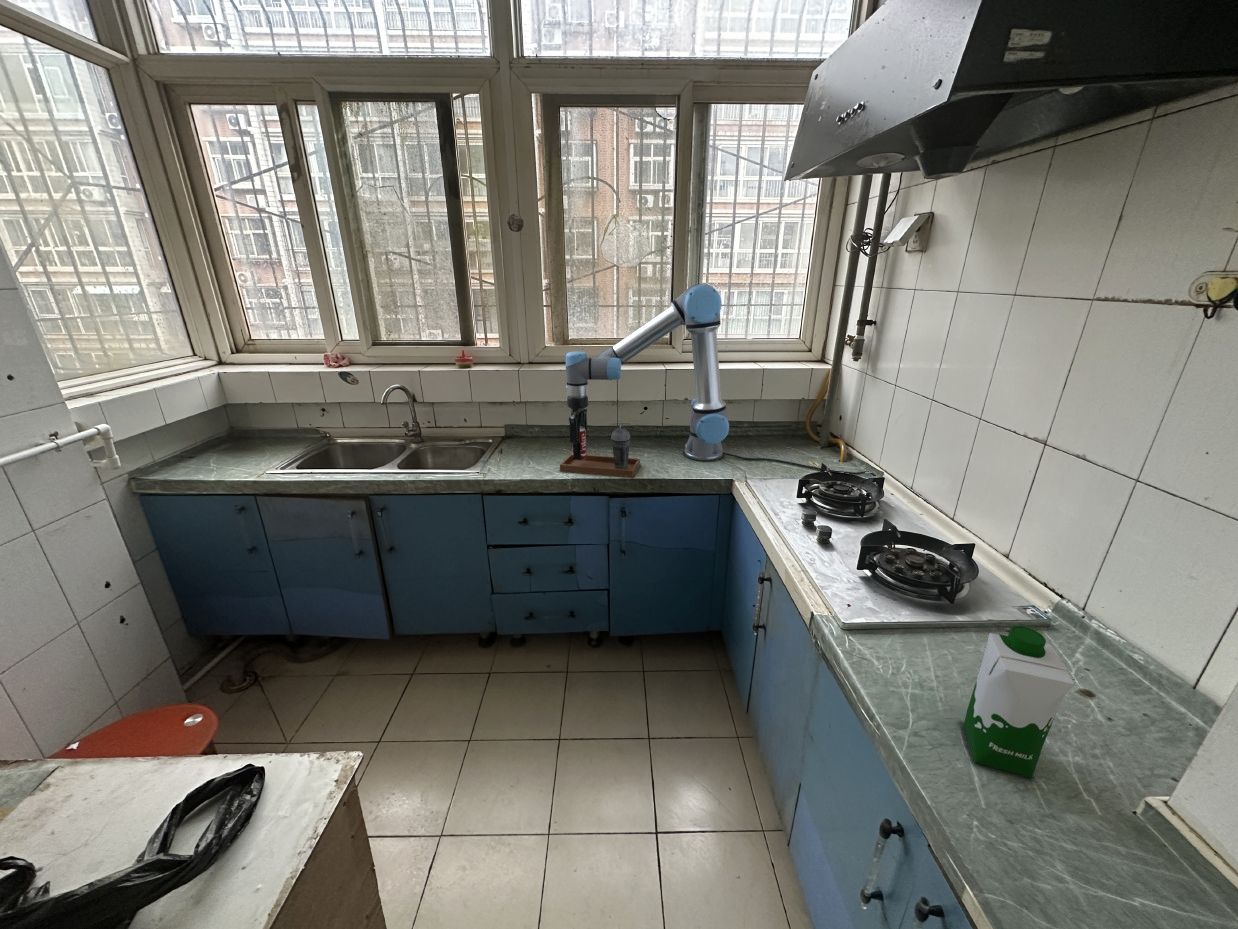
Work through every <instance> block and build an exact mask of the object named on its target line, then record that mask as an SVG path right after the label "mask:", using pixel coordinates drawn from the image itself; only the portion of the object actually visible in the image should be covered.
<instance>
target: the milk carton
mask: <svg viewBox="0 0 1238 929" xmlns="http://www.w3.org/2000/svg"><path fill="white" fill-rule="evenodd" d="M1046 642H1047V640H1046V638H1045V636H1044V635H1042V634H1041V633H1040V632H1039V631H1037V630H1035V629H1033V628H1030V627H1027V626H1022V625H1013V626H1012V627H1010V628H1009V632H1008V634H1007V635H1005V634H997V633H991V632H990V633H989V634H988V638H987V642H986V646H985V650H984V654H983V658H982V662H981V666H980V669H979V672H978V675H977V677H976V680H975V684H974V687H973V690H972V694H971V697H970V699H969V703H968V706H967V708H966V713H965V717H964V722H963V728H964V731H965V733H966V737H967V741H968V743H969V747H970V750H971V753H972V756H973V761H974V763H975V764H978V765H982V766H985V767H989V768H993V769H996V770H1001V771H1004V772H1007V773H1012V774H1015V775H1019V776H1023V777H1026V778H1030V779H1033V776H1034V774H1035V770H1036V767H1037V764H1038V762H1039V759H1040V756H1041V752H1042V750H1043V747H1044V744H1045V742H1046V739H1047V738H1048V735H1049V732H1050V731H1051V730H1050V729H1051V728H1052V725H1053V722H1054V720H1055V717H1056V715H1057V713H1058V711H1059V708H1060V705H1061V703H1062V700H1063V699H1064V698H1065V696H1066V695H1067V694H1068V693H1069V692H1070V690H1072V688H1073V687H1074V686H1075V682H1074V681H1073V679H1072V677H1071V675H1070V673H1068V668H1067V666H1066V665H1065V664H1064V663H1063V661H1062V660H1061V658H1060V657H1059V655H1058V654H1057V652H1056V651H1055V649H1054V647H1053V646H1052V644H1047V643H1046Z"/></svg>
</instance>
